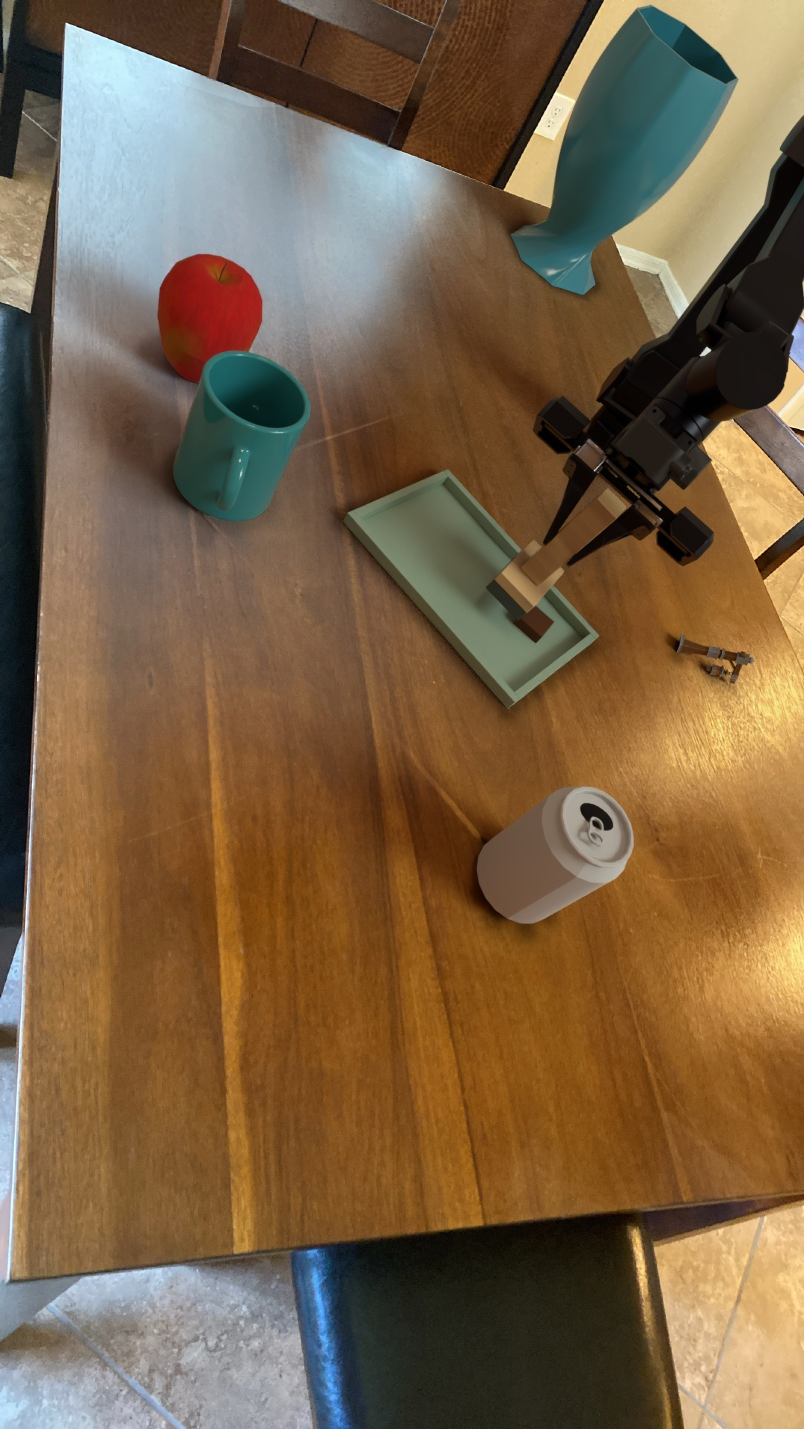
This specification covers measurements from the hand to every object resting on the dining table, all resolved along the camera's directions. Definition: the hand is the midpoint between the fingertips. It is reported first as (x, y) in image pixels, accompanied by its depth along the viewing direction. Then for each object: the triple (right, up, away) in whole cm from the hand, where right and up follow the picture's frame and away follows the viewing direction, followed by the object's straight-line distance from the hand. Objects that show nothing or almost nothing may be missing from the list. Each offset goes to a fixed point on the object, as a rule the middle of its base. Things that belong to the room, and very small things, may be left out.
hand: (555, 554), depth 78 cm
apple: (-34, +19, +6) cm, 40 cm away
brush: (-3, -2, +6) cm, 7 cm away
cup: (-30, +5, 0) cm, 31 cm away
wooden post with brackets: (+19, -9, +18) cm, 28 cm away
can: (-5, -28, -7) cm, 29 cm away
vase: (+9, +54, +53) cm, 76 cm away
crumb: (-1, -6, +8) cm, 10 cm away
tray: (-7, -2, +8) cm, 11 cm away
